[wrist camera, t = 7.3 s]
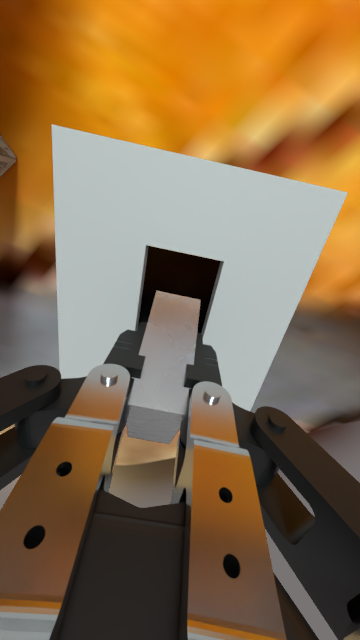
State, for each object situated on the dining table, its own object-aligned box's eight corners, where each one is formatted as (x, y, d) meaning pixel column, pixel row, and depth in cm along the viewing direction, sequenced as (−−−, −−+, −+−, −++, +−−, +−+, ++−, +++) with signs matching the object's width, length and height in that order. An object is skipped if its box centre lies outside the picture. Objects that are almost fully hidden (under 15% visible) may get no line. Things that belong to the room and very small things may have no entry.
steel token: (150, 347, 14) (156, 290, 10) (181, 354, 14) (200, 299, 10) (127, 436, 11) (125, 403, 7) (168, 444, 11) (188, 415, 7)
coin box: (114, 163, 18) (51, 124, 10) (278, 200, 18) (348, 192, 10) (103, 340, 25) (60, 405, 16) (223, 363, 25) (238, 436, 17)
